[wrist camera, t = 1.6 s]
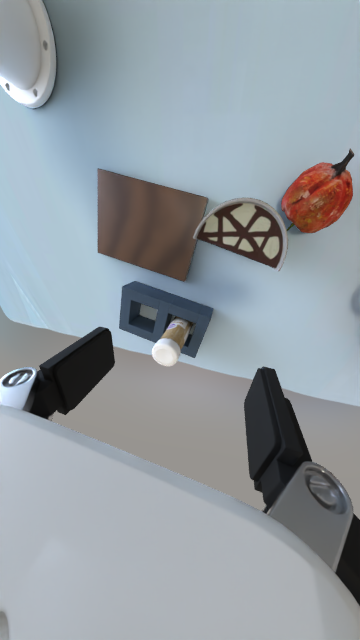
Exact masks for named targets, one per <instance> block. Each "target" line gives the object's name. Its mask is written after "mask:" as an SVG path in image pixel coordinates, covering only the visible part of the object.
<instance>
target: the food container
mask: <svg viewBox="0 0 360 640" xmlns="http://www.w3.org/2000/svg"><path fill="white" fill-rule="evenodd" d="M193 238H194V239H198V240H202V241H205V242H208V243H211V244H213V245H216V246H218V247H221V248H224V249H226V250H229V251H232V252H234V253H237V254H239V255H242V256H245V257H247V258H250V259H252V260H255V261H257V262H260V263H263V264H265V265H268V266H270V267H272V268H274V269H275V270H277V271H280V269H281V267H282V265H283V263H284V260H285V258H286V254H287V249H288V236H287V230H286V227H285V224H284V222H283V220H282V218H281V216H280V215H279V214H278V213H277V211H276V210H275V209H274V208H272V207H271V206H270V205H268V204H267V203H265V202H263V201H261V200H258V199H253V198H237V199H232V200H229V201H226V202H224V203H222V204H220V205H218V206H217V207H215V208H214V209H213V210H211V211H210V212H209V213H208V214H207V215H206V216H205V217H204V219H203V220H202V221H201V222H200V224H199V226H198V227H197V229H196V231H195V233H194V236H193Z"/></svg>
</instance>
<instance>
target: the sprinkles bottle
mask: <svg viewBox="0 0 360 640" xmlns="http://www.w3.org/2000/svg"><path fill="white" fill-rule="evenodd" d="M192 325H193V322H191V321H188V320H185V319H182V318H180V317H177V316H175V318H174V320H173V321H172V322H171V324H170V325H169V326H168V328H167V330H166V331H165V333H164V334H163V336H162V337H161V339H160V340H158V341H157V342H156V344H155V345H154V347H153V349H152V356H153V358H154V359H155V361H156V362H158V363H159V364H161V365H163V366H172V365H174V364H175V363H176V362H177V360H178V358H179V356H180V353H181V349H182V347H183V345H184V343H185V341H186V339H187V337H188V334H189V332H190V329H191V327H192Z"/></svg>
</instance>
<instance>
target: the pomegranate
mask: <svg viewBox="0 0 360 640" xmlns="http://www.w3.org/2000/svg"><path fill="white" fill-rule="evenodd" d="M353 156H354V153H353V152H352V150H351V149H350V150H349V154H348V155H347V156H346V157H345V159H344V160H343V161H342V162H341V163H338V164H335V165H333V164H330V163H324V162H322V163H319V164H317V165H315V166H313V167H311V168H309V169H308V170H306V171H304V172H303V173H302V174H301V175H300V176H299V177H298V178H297V179H296V180H295V181H294V183H293V184H292V185H291V186H290V187H289V188H288V190H287V191H286V193H285V195H284V196H283V198H282V203H281V207H282V211H284V212H285V214H286V216H287V218H288V219H289V220H290V221H291V222H293V223H292V224H291V226H290V227H289V228H288V229H287V231H288V230H289V229H290V228H291V227H292V226H294V225H295V226H296V227H297V228H298V229H299V230H300V231H301V232H304V233H315V232H317V231H319V230H321V229H323V228H325V227H328V226H330V225H331V224H333V223H334V222H336V221H337V220H338V219H339V218H340V216H341V215H342V214H343V212H344V211H345V210H346V208H347V207H348V205H349V204H350V202H351V200H352V197H353V187H352V178H351V175H350V172H348V171H347V170H346V166H347V164H348V162H349V161H350V160H351V159H352V158H353Z"/></svg>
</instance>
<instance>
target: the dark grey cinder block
mask: <svg viewBox="0 0 360 640" xmlns="http://www.w3.org/2000/svg"><path fill="white" fill-rule="evenodd" d="M141 304H144V305H147V306H149V307H152V308H155V309H158V312H157V317H156V321H153V320H151V319H148V318H145V317H143V316H140V315H139V312H140V305H141ZM212 312H213V308H210V307H208V306H205V305H202V304H199V303H196V302H193V301H190V300H188V299H185V298H182V297H179V296H176V295H173V294H171V293H168V292H165V291H162V290H159V289H156V288H153V287H151V286H148V285H145V284H142V283H139V282H136V281H134V282H132V283H129V284H127V285H125V286H122V298H121V311H120V324H119V329H122V330H124V331H127V332H129V333H132V334H135V335H137V336H140V337H142V338H145V339H147V340H150V341H152V342H155V343H156V342H157V341H158V340H160V339H161V337H162V336H163V334H164V333H165V331H166V330H167V328H168V326H169V325H170V323H171V319H172V315H174V316H177V317H180V318H182V319H185V320H188V321H191V322H193V323H197V324H196V326H195V329H194V332H193V335H191V334H188V337H187V339H186V341H185V343H184V345H183V347H182V349H181V353H183V354H186V355H188V356H190V357H193V358H195V357H196V354H197V352H198V349H199V347H200V344H201V342H202V339H203V337H204V334H205V332H206V329H207V327H208V324H209V322H210V319H211V316H212Z"/></svg>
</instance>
